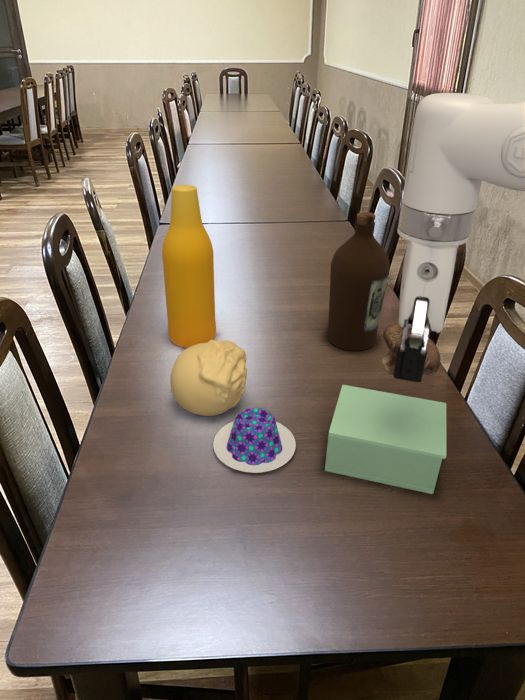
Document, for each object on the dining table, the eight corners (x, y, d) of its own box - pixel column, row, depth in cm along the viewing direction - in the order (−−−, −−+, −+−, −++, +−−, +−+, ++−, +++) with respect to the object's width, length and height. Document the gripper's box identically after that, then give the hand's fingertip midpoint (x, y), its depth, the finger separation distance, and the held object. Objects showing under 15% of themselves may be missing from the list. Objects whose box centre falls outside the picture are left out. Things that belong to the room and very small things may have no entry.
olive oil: (314, 342, 105) (325, 216, 92) (338, 321, 112) (351, 202, 99) (365, 359, 100) (383, 228, 87) (386, 335, 107) (406, 212, 94)
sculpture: (234, 431, 81) (234, 372, 76) (161, 417, 84) (155, 359, 78) (255, 389, 91) (256, 334, 85) (188, 378, 93) (185, 323, 88)
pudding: (288, 483, 72) (290, 453, 70) (203, 469, 74) (201, 439, 72) (301, 427, 82) (303, 399, 80) (225, 416, 84) (224, 389, 82)
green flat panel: (445, 406, 77) (446, 402, 77) (445, 459, 68) (446, 455, 67) (342, 387, 81) (342, 384, 80) (328, 435, 71) (328, 432, 71)
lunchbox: (434, 439, 81) (442, 406, 77) (433, 494, 71) (442, 459, 68) (338, 420, 84) (342, 388, 81) (324, 471, 74) (328, 436, 71)
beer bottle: (220, 327, 109) (216, 182, 94) (210, 351, 101) (204, 196, 86) (175, 324, 110) (165, 179, 95) (162, 347, 102) (149, 193, 87)
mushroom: (364, 358, 63) (398, 316, 62) (365, 349, 71) (396, 311, 69) (419, 400, 62) (455, 359, 61) (414, 386, 70) (446, 349, 69)
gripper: (476, 254, 49) (439, 407, 58) (468, 203, 64) (440, 332, 73) (393, 244, 51) (370, 394, 60) (403, 197, 65) (384, 324, 74)
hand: (408, 359), depth 66 cm, fingers closed on mushroom, 7 cm apart
